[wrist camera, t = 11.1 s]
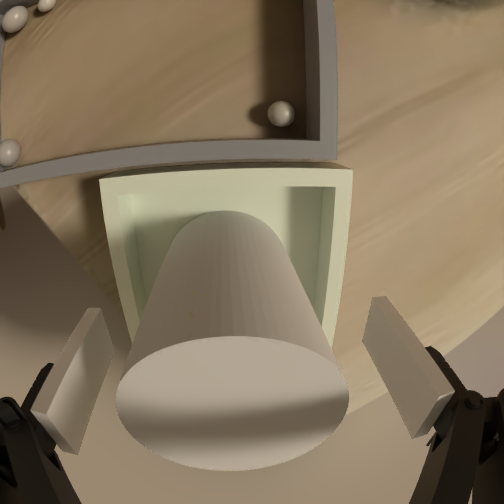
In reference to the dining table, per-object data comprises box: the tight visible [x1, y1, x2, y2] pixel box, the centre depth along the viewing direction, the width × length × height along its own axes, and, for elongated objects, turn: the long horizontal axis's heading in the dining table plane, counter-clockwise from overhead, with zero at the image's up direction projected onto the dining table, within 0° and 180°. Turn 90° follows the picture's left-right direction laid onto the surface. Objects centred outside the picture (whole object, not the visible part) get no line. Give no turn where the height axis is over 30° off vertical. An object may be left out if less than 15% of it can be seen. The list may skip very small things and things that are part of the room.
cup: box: [116, 211, 349, 471], centre depth 15 cm, size 8×8×12 cm
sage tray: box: [99, 162, 353, 349], centre depth 19 cm, size 14×14×3 cm
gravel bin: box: [0, 0, 338, 188], centre depth 13 cm, size 15×24×3 cm, turn 91°
